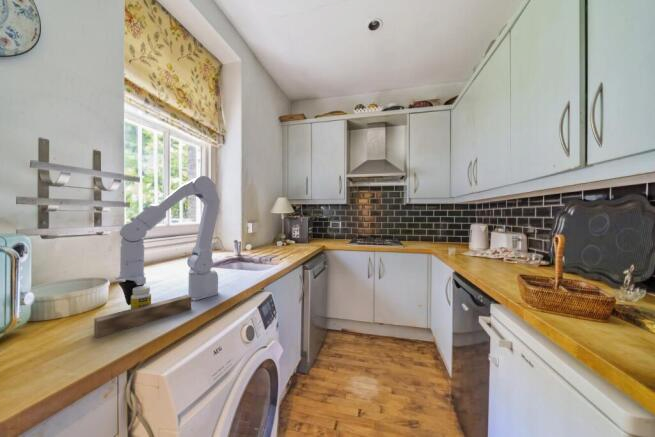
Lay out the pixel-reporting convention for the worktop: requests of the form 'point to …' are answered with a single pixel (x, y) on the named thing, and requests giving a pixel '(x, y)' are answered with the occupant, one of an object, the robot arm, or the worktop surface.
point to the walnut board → (140, 315)
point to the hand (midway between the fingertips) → (131, 303)
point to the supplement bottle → (140, 296)
